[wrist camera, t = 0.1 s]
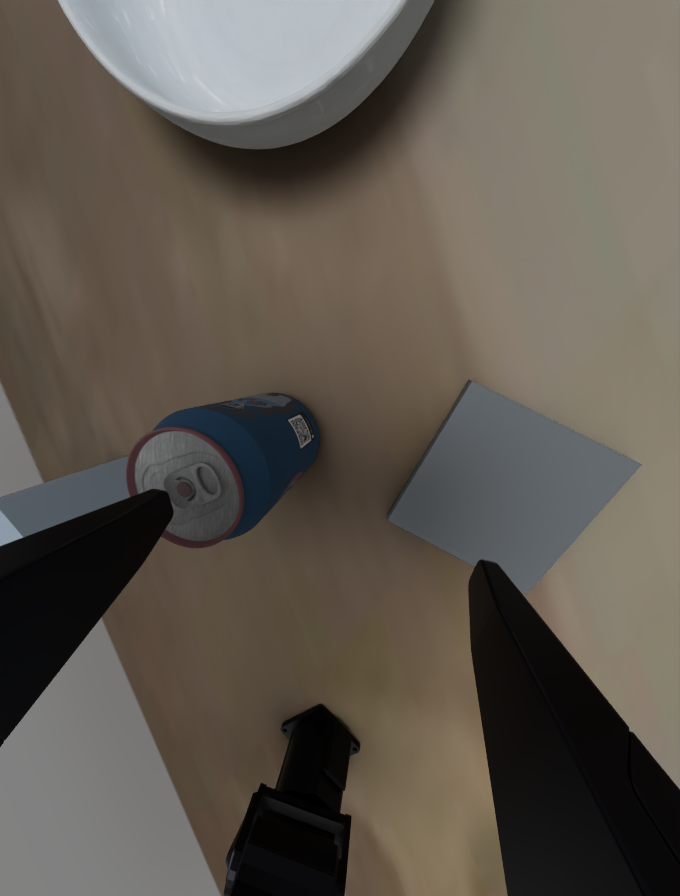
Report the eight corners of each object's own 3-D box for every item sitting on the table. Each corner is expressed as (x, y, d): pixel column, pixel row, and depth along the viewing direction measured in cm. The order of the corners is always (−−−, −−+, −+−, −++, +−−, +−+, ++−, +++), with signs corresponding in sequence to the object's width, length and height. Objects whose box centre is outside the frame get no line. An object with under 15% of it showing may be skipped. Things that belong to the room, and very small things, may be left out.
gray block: (162, 498, 29) (44, 562, 19) (131, 520, 30) (7, 590, 21) (129, 455, 28) (-9, 500, 19) (99, 480, 30) (-43, 533, 20)
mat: (521, 585, 24) (526, 594, 23) (387, 514, 25) (387, 520, 24) (630, 459, 20) (642, 464, 19) (468, 380, 21) (472, 380, 20)
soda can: (264, 484, 26) (160, 573, 15) (229, 410, 25) (86, 445, 14) (336, 458, 24) (279, 539, 13) (302, 377, 23) (207, 387, 12)
